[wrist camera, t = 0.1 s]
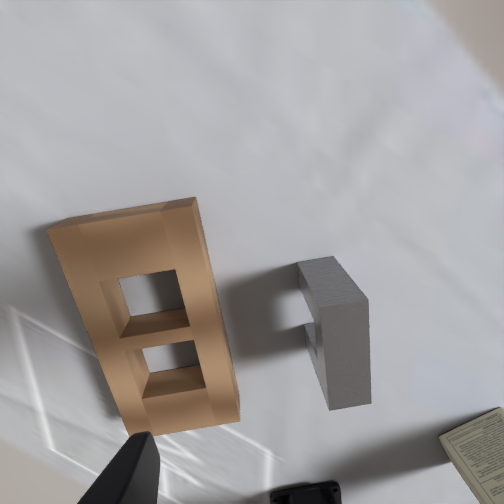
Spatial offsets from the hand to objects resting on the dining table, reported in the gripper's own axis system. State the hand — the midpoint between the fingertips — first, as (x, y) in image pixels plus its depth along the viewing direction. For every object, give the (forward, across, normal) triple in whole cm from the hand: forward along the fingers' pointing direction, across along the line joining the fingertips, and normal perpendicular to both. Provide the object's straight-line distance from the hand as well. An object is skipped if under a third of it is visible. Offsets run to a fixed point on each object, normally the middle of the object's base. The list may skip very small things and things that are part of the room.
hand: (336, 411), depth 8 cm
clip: (+14, -3, +6) cm, 16 cm away
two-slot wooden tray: (+14, +8, +5) cm, 17 cm away
